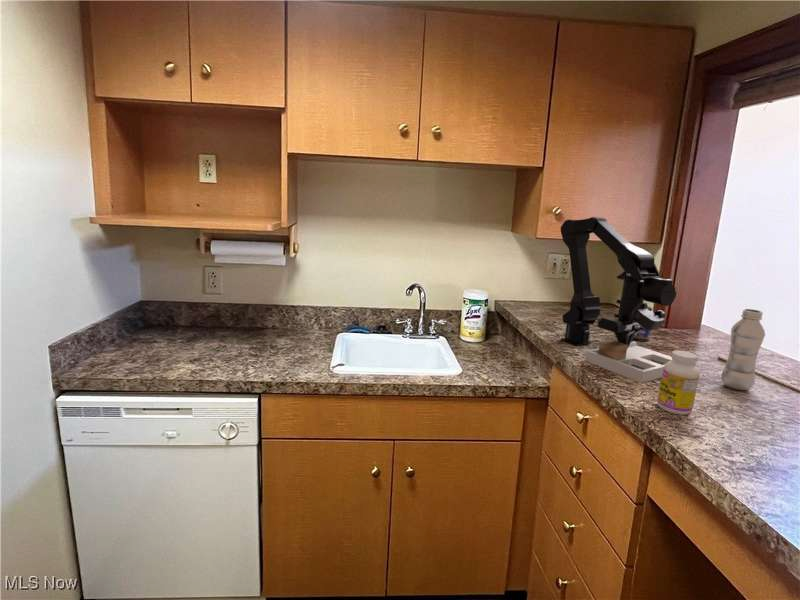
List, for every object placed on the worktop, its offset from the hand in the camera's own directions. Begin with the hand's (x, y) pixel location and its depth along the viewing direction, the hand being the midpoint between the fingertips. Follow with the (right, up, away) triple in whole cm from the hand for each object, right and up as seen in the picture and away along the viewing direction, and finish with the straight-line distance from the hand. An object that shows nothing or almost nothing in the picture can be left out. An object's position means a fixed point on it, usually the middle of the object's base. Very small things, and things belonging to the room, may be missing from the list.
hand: (623, 350), depth 126 cm
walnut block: (-5, -1, -3) cm, 6 cm away
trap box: (+2, -4, -2) cm, 5 cm away
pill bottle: (+17, +1, +23) cm, 28 cm away
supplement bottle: (-3, -10, -28) cm, 30 cm away
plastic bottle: (+20, -8, -15) cm, 27 cm away
